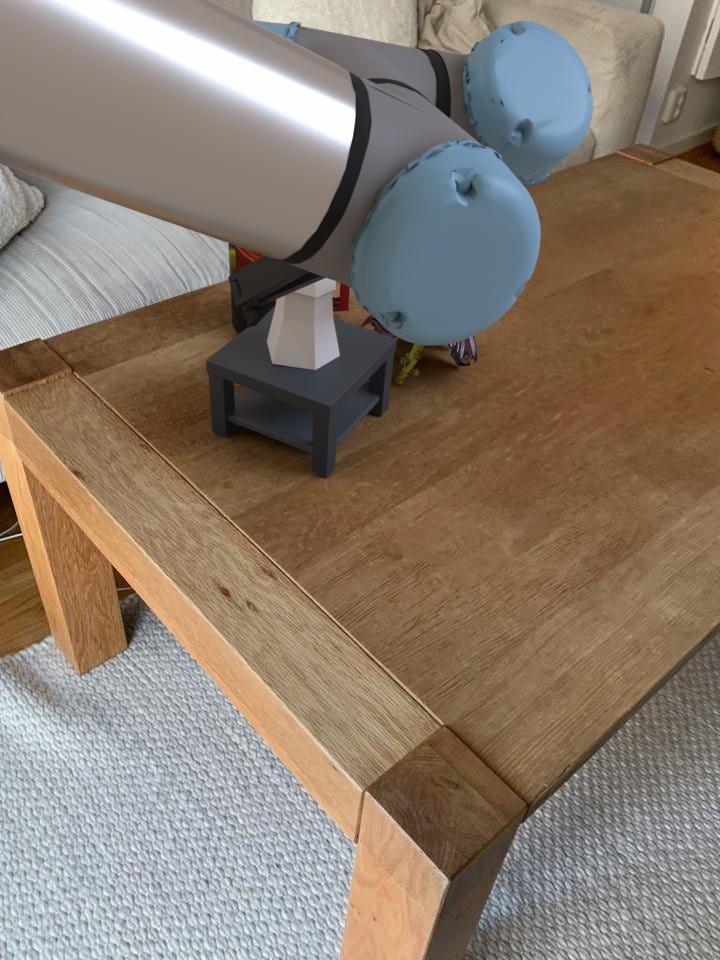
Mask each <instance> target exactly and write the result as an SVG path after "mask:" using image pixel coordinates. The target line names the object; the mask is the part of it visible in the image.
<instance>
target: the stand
mask: <svg viewBox="0 0 720 960" xmlns="http://www.w3.org/2000/svg"><path fill="white" fill-rule="evenodd" d="M275 307H276V306H275ZM275 307H274V308H272V309H271V310H270V311H269V312H268V313H267V314H266V315H265V316H264V318H263V319H262V320H261V321H260V322H259V323H258V324H257V325H256V326H253V327H248V328H247V329H245V330H244V331H243V332H241V333H240V334H238V335H236V336H235V337H233V338H232V339H231V340H230V341H228V342H227V343H226V344H224V345H223V346H222V347H221V348H219V349H218V350H216V352H214V353H213V354H212V355H210V356H209V357H208V358H206V359H205V366H206V367H205V368H206V369H205V370H206V373H207V376H208V377H207V379H208V391H209V405H210V418H211V419H210V420H211V431H212V433H213V434H216V435H218V436H221V437H223V438H228V437H229V436H230V435H231V434H233V433H234V432H235V431H236V430H237V425H238V426H241V427H244V428H245V429H249V430H250V431H254V432H256V433H258V434H261V435H263V436H266V437H268V438H271V439H274V440H276V441H279V442H280V443H283V444H286V445H289V446H291V447H293V448H296V449H298V450H301V451H303V452H306V453H309V454H311V461H310V462H311V465H310V473H313V474H314V475H317V476H320V477H321V478H325V479H327V478H328V477H329V476H330V475H331V474H332V473H333V472H334V471H335V469H336V458H337V457H336V456H337V447H338V446H340V444H341V443H342V442H343V441H344V440H345V439H346V438H347V436H349V434H350V433H351V432H352V431H354V429H355V428H356V427H357V426H358V425H359V423H361V421H363V419H364V418H365V417H366V416H367V415H368V414H369V413H370V414H373V415H375V416H377V417H382V416H383V415H384V414H385V413H386V412H387V411H388V410H389V406H390V405H389V404H390V396H391V387H392V386H391V385H392V379H393V378H392V377H393V369H394V368H393V367H394V358H395V352H396V351H397V341H398V340H397V338H396V337H395V338H392V337H389V336H386V335H383V334H380V333H378V331H375V330H371V329H368V328H366V327H363V328H362V327H360V326H359V325H356V324H353V323H350V322H347V321H345V320H341V319H339V318H335V317H333V320H334V326H335V331H336V337H337V342H338V348H339V354H340V356H339V357H337V358H335V359H333V360H332V361H330V362H328V363H327V364H325V365H323V366H321V367H320V368H318V369H316V370H311V369H305V368H298V367H291V366H284V365H277V364H272V360H271V356H270V352H269V348H268V344H267V339H268V335H269V331H270V327H271V323H272V319H273V315H274V311H275ZM368 380H369V381H368ZM235 384H236V385H238V386H241V387H242V388H241V389H239V390H238V391H237V392H236V393H235Z"/></svg>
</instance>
